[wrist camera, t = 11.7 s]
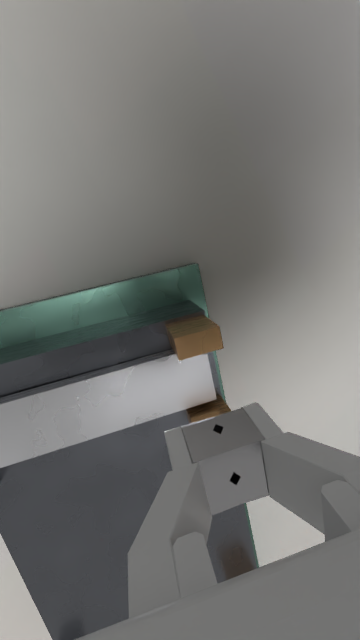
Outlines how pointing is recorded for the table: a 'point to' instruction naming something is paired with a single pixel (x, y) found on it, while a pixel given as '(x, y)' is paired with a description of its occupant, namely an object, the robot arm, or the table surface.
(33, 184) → the table surface
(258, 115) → the table surface
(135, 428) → the dark piece
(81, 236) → the table surface
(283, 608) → the robot arm
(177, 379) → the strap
